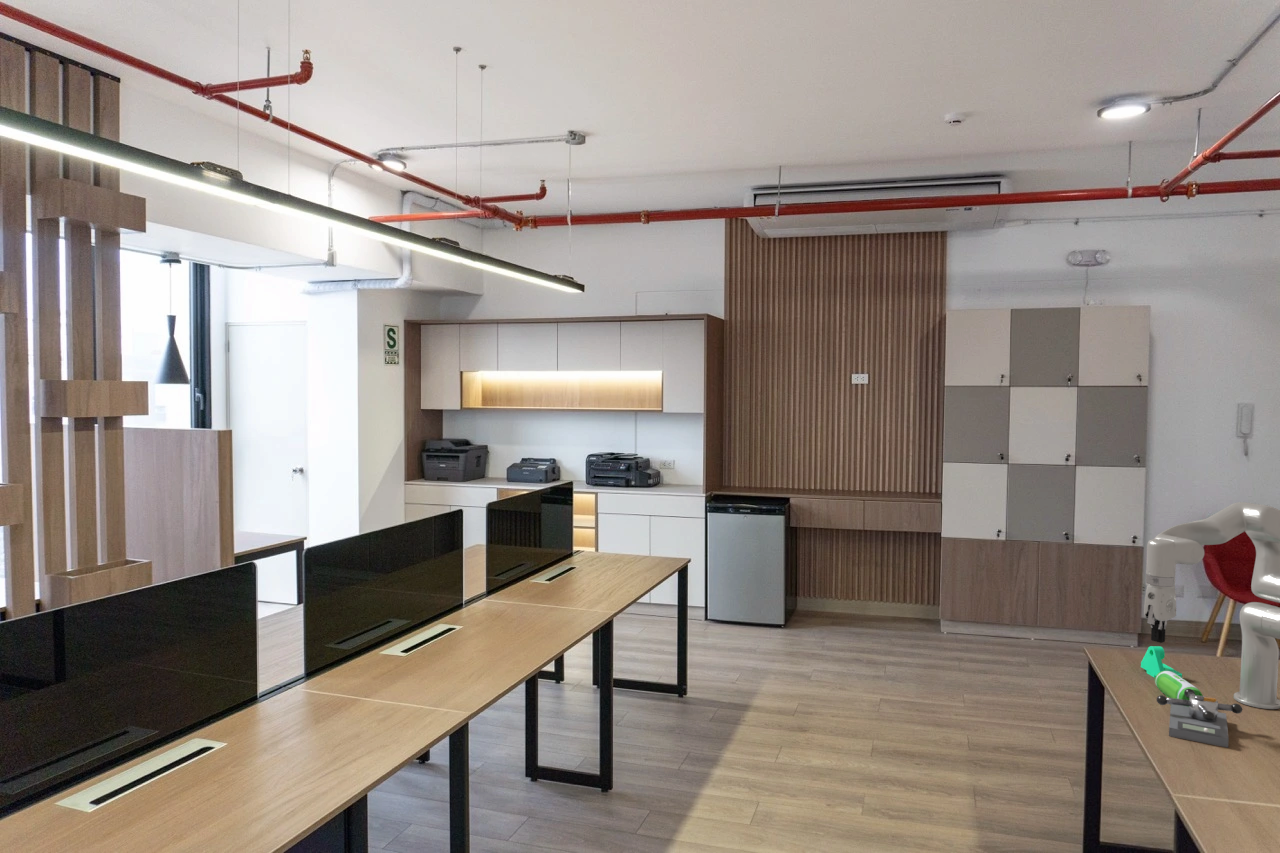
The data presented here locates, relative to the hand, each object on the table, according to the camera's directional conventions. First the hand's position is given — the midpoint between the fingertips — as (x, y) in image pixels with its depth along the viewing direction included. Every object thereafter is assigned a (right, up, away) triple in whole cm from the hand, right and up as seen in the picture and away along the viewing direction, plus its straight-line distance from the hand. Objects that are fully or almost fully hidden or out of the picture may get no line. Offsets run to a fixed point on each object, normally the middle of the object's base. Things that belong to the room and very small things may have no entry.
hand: (1157, 641), depth 259 cm
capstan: (+9, -21, -5) cm, 23 cm away
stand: (+7, -24, -7) cm, 26 cm away
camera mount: (+24, -22, +39) cm, 51 cm away
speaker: (+15, -23, +15) cm, 31 cm away
